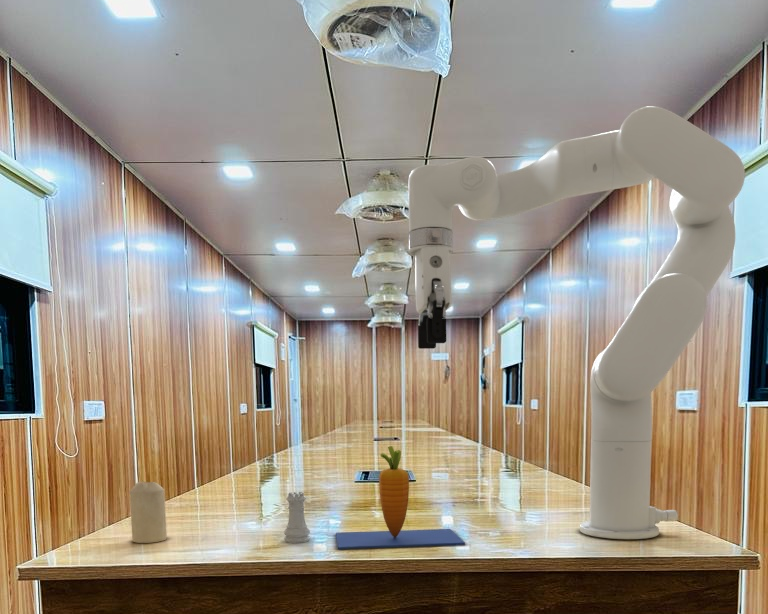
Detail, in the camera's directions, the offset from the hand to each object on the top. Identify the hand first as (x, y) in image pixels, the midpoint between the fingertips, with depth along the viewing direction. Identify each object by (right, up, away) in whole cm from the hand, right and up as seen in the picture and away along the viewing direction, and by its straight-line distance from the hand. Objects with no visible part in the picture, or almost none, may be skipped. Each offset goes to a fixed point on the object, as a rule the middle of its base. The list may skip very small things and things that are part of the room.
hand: (431, 345), depth 114 cm
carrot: (-7, -33, -6) cm, 34 cm away
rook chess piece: (-23, -34, -6) cm, 41 cm away
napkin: (-6, -33, -6) cm, 34 cm away
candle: (-48, -34, -3) cm, 59 cm away
